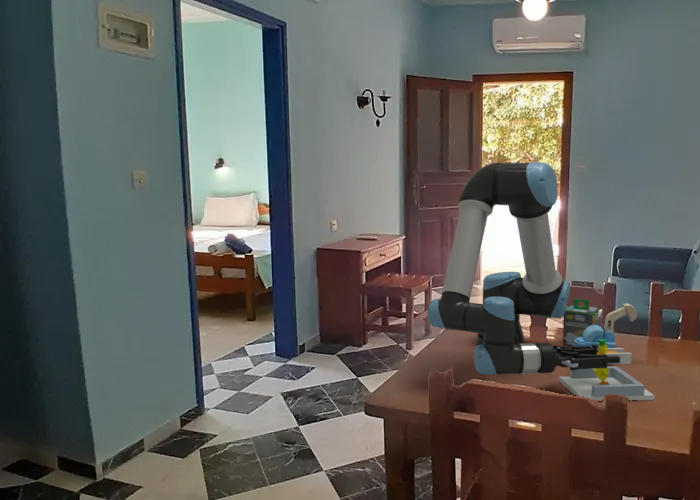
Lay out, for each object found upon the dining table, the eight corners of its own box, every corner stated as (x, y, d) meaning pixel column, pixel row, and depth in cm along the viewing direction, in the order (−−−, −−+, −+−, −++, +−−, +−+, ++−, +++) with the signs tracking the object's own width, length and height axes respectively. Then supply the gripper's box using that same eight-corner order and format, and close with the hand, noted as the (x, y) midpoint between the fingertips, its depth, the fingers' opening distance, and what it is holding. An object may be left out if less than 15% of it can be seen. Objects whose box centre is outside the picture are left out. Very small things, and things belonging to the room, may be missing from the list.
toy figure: (616, 382, 163) (617, 337, 161) (621, 387, 159) (622, 341, 157) (589, 382, 163) (590, 338, 161) (593, 387, 160) (594, 342, 158)
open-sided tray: (581, 402, 154) (582, 387, 153) (559, 381, 169) (559, 367, 168) (653, 399, 154) (654, 385, 154) (625, 379, 169) (625, 365, 169)
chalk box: (598, 342, 204) (600, 297, 202) (591, 349, 196) (593, 302, 194) (569, 338, 209) (570, 294, 207) (561, 344, 202) (563, 299, 200)
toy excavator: (637, 367, 179) (640, 308, 177) (576, 364, 182) (578, 306, 180) (630, 358, 187) (633, 301, 185) (571, 355, 191) (573, 299, 188)
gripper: (525, 362, 168) (611, 360, 169) (547, 383, 152) (642, 380, 153) (526, 335, 167) (612, 332, 168) (547, 353, 151) (643, 351, 152)
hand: (626, 355), depth 160 cm, fingers open, 3 cm apart
